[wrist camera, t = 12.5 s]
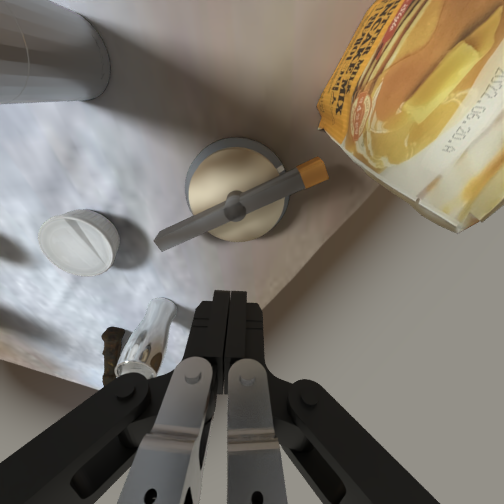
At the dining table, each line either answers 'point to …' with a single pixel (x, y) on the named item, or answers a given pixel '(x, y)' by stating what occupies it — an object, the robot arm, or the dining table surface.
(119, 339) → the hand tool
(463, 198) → the pancake mix bag
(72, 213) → the ramekin
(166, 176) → the dining table surface
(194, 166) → the dial plinth
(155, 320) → the beer glass
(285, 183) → the capstan dial
